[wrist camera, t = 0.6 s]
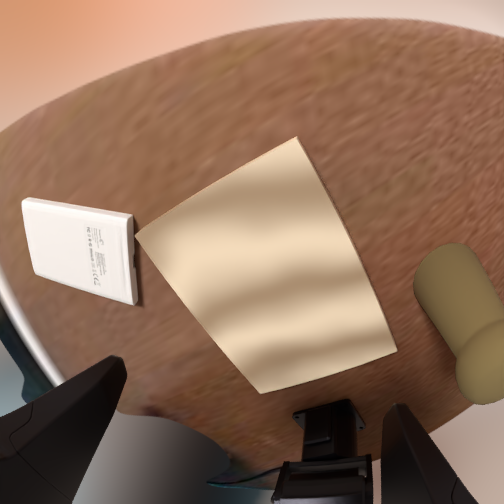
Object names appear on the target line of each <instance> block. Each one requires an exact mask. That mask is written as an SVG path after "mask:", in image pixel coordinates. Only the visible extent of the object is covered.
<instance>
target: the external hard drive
mask: <svg viewBox="0 0 504 504" xmlns="http://www.w3.org/2000/svg"><path fill="white" fill-rule="evenodd" d="M22 212H23V218H24V224H25V230H26V236H27V241H28V246H29V251H30V255H31V260H32V265H33V269H34V272H35V274H36V275H39V276H42V277H44V278H47V279H50V280H53V281H56V282H59V283H62V284H65V285H68V286H71V287H74V288H77V289H80V290H84V291H87V292H90V293H93V294H96V295H100V296H103V297H106V298H110V299H113V300H117V301H120V302H124V303H127V304H130V305H135V304H136V303H137V301H138V292H137V280H136V268H135V267H134V253H135V251H134V229H133V215H132V214H126V213H120V212H114V211H108V210H102V209H96V208H91V207H85V206H79V205H73V204H67V203H61V202H55V201H49V200H42V199H36V198H30V197H28V198H26V199H24V200H23V201H22Z"/></svg>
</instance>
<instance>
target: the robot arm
mask: <svg viewBox="0 0 504 504" xmlns="http://www.w3.org/2000/svg"><path fill="white" fill-rule="evenodd" d="M126 379H127V371H126V368H125V364H124V361H123V359H122V358H121V357H118V356H115V355H110V356H108V357H106V358H105V359H103V360H101V361H100V362H98V363H96V364H95V365H93V366H91V367H90V368H88V369H86V370H84V371H83V372H81V373H79V374H78V375H76V376H74V377H73V378H71V379H69V380H67V381H66V382H64V383H62V384H61V385H59V386H57V387H55V388H54V389H52V390H50V391H49V392H47V393H45V394H43V395H42V396H40V397H38V398H37V399H35V400H34V401H31V402H29V403H28V404H26V405H24V406H22V407H21V408H19V409H17V410H15V411H13V412H11V413H8V414H6V415H4V416H2V417H0V504H72V501H73V500H74V497H75V495H76V493H77V490H78V488H79V486H80V484H81V482H82V480H83V477H84V475H85V473H86V471H87V469H88V466H89V464H90V462H91V460H92V458H93V456H94V454H95V452H96V450H97V447H98V446H99V443H100V441H101V439H102V437H103V435H104V433H105V431H106V429H107V427H108V425H109V423H110V421H111V419H112V417H113V414H114V412H115V410H116V407H117V404H118V401H119V398H120V396H121V393H122V390H123V388H124V385H125V382H126ZM292 418H293V419H294V420H295V421H296V422H297V423H298V424H299V425H300V427H301V428H302V429H303V430H304V436H303V448H302V459H301V462H289V461H284V463H283V467H282V468H281V470H280V474H279V477H278V481H277V484H276V488H275V491H274V493H273V495H272V497H271V502H272V504H373V476H372V459H371V454H366V455H365V456H358V454H357V431H359V430H363V429H365V428H366V427H365V423H364V421H363V420H362V418H361V416H360V415H359V413H358V412H357V410H356V409H355V407H354V405H353V404H352V402H351V401H350V400H349V399H344V400H340V401H337V402H333V403H330V404H326V405H322V406H318V407H315V408H311V409H307V410H302V411H298V412H294V413H293V416H292ZM365 476H366V477H365ZM381 497H382V498H381V504H478V502H477V501H476V500H475V499H474V497H473V496H472V495H471V494H470V492H469V491H468V490H467V488H466V487H465V486H464V484H463V483H462V482H461V480H460V478H459V477H457V475H456V473H455V471H454V470H453V469H452V467H451V466H450V464H449V463H448V462H447V460H446V459H445V457H444V456H443V454H442V453H441V452H440V450H439V449H438V447H437V446H436V445H435V443H434V442H433V440H432V439H431V438H430V436H429V435H428V433H427V432H426V431H425V429H424V428H423V427H422V425H421V424H420V422H419V421H418V420H417V418H416V417H415V416H414V414H413V413H412V411H411V410H410V409H409V407H408V406H407V405H406V404H405V403H394V404H393V405H392V406H391V408H390V409H389V411H388V412H387V414H386V415H385V417H384V420H383V431H382V448H381Z"/></svg>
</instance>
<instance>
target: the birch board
mask: <svg viewBox="0 0 504 504" xmlns="http://www.w3.org/2000/svg"><path fill="white" fill-rule="evenodd" d="M134 236H135V237H136V239H137V240H138V242H139V243H140V244H141V246H142V247H143V249H144V250H145V252H146V253H147V254H148V256H149V257H150V258H151V260H152V261H153V263H154V264H155V265H156V267H157V268H158V269H159V271H160V272H161V274H162V275H163V276H164V278H165V279H166V280H167V282H168V283H169V284H170V286H171V287H172V288H173V289H174V291H175V292H176V293H177V295H178V296H179V297H180V299H181V300H182V301H183V302H184V304H185V305H186V306H187V308H188V309H189V310H190V311H191V313H192V314H193V315H194V316H195V318H196V319H197V320H198V321H199V323H200V324H201V325H202V326H203V328H204V329H205V330H206V331H207V333H208V334H209V335H210V336H211V337H212V339H213V340H214V341H215V342H216V343H217V345H218V346H219V347H220V348H221V349H222V351H223V352H224V353H225V354H226V355H227V357H228V358H229V359H230V360H231V361H232V362H233V364H234V365H235V366H236V367H237V368H238V369H239V370H240V372H241V373H242V374H243V375H244V376H245V377H246V378H247V380H248V381H249V382H250V383H251V384H252V385H253V386H254V387H255V388H256V390H257V391H258V392H259V393H260V394H262V393H266V392H270V391H275V390H278V389H282V388H286V387H290V386H294V385H297V384H301V383H305V382H308V381H312V380H315V379H318V378H322V377H325V376H328V375H331V374H335V373H338V372H341V371H344V370H347V369H350V368H353V367H356V366H359V365H361V364H364V363H367V362H370V361H373V360H375V359H378V358H381V357H383V356H386V355H389V354H391V353H394V352H396V351H397V348H396V344H395V340H394V337H393V335H392V332H391V329H390V327H389V324H388V322H387V319H386V317H385V314H384V312H383V309H382V307H381V304H380V302H379V300H378V297H377V295H376V292H375V290H374V288H373V285H372V283H371V281H370V279H369V276H368V274H367V272H366V269H365V267H364V265H363V263H362V261H361V258H360V256H359V254H358V252H357V250H356V248H355V245H354V243H353V241H352V239H351V237H350V235H349V233H348V231H347V229H346V227H345V225H344V223H343V220H342V218H341V216H340V214H339V212H338V210H337V208H336V206H335V205H334V203H333V201H332V199H331V197H330V195H329V193H328V191H327V189H326V187H325V185H324V183H323V181H322V180H321V178H320V176H319V174H318V172H317V170H316V169H315V167H314V165H313V163H312V161H311V159H310V158H309V156H308V154H307V152H306V151H305V149H304V147H303V145H302V144H301V142H300V140H299V138H298V137H297V136H296V137H294V138H293V139H291V140H289V141H287V142H285V143H283V144H281V145H279V146H278V147H276V148H274V149H272V150H270V151H268V152H267V153H265V154H263V155H261V156H259V157H258V158H256V159H254V160H252V161H251V162H249V163H247V164H245V165H244V166H242V167H240V168H238V169H237V170H235V171H233V172H231V173H230V174H228V175H226V176H225V177H223V178H221V179H220V180H218V181H216V182H215V183H213V184H211V185H210V186H208V187H206V188H205V189H203V190H201V191H200V192H198V193H196V194H195V195H193V196H192V197H190V198H188V199H187V200H185V201H184V202H182V203H180V204H179V205H177V206H176V207H174V208H173V209H171V210H169V211H168V212H166V213H165V214H163V215H162V216H160V217H159V218H157V219H156V220H154V221H153V222H151V223H150V224H148V225H147V226H145V227H144V228H142V229H141V230H140V231H139V232H138V233H137V234H136V235H134Z"/></svg>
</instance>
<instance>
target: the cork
mask: <svg viewBox="0 0 504 504" xmlns="http://www.w3.org/2000/svg"><path fill="white" fill-rule="evenodd" d="M413 288H414V294H415V296H416V298H417V300H418V302H419V303H420V305H421V306H422V308H423V309H424V310H425V312H426V313H427V315H428V316H429V318H430V319H431V321H432V322H433V323H434V325H435V326H436V328H437V329H438V331H439V332H440V334H441V335H442V337H443V338H444V340H445V341H446V343H447V344H448V346H449V348H450V349H451V351H452V352H453V354H454V355H455V357H456V359H457V360H456V367H455V375H456V380H457V383H458V386H459V389H460V391H461V393H462V394H463V396H464V397H465V398H466V399H468V400H469V401H471V402H473V403H474V404H478V405H485V404H489V403H494V402H496V401H499V400H501V399H503V398H504V306H503V304H502V302H501V300H500V298H499V296H498V294H497V292H496V290H495V288H494V286H493V284H492V282H491V280H490V279H489V277H488V275H487V273H486V271H485V269H484V268H483V266H482V264H481V262H480V261H479V259H478V257H477V256H476V254H475V253H474V252H473V250H472V249H471V248H470V247H468V246H466V245H464V244H461V243H449V244H446V245H442V246H440V247H438V248H437V249H435V250H433V251H432V252H430V253H429V254H428V255H427V256H426V257H425V259H424V260H423V261H422V262H421V263H420V265H419V267H418V269H417V271H416V273H415V277H414V282H413Z"/></svg>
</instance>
